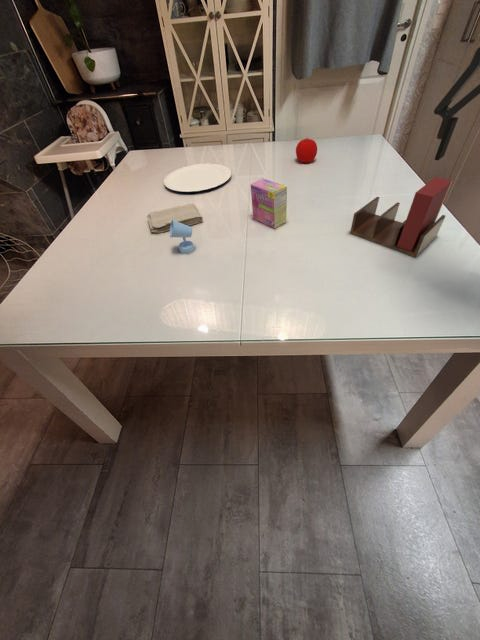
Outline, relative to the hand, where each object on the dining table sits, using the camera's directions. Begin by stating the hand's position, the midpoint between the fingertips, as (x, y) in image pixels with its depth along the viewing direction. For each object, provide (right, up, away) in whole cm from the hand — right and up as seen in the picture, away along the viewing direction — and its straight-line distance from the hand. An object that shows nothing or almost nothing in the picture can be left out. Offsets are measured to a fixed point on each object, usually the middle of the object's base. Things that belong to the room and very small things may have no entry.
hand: (477, 164), depth 55 cm
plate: (-62, +31, +73) cm, 101 cm away
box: (-34, +4, +44) cm, 56 cm away
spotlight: (-61, -7, +37) cm, 71 cm away
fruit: (-15, +42, +77) cm, 89 cm away
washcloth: (-67, +6, +50) cm, 83 cm away
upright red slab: (+5, -6, +28) cm, 29 cm away
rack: (+1, -4, +33) cm, 33 cm away
